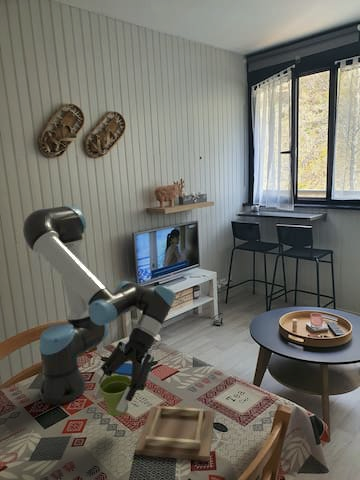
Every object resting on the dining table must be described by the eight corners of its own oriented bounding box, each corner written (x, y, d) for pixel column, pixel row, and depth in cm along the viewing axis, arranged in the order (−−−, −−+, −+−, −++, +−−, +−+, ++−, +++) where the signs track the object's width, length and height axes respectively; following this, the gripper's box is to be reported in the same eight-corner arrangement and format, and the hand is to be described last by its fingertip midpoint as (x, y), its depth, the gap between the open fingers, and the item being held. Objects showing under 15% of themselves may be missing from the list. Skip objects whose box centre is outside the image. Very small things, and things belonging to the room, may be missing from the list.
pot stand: (135, 454, 96) (134, 443, 96) (151, 411, 114) (151, 401, 113) (209, 461, 93) (208, 449, 92) (214, 415, 110) (214, 405, 110)
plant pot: (104, 425, 99) (102, 397, 98) (98, 405, 108) (96, 379, 106) (137, 415, 103) (135, 388, 101) (128, 396, 111) (126, 371, 110)
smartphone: (118, 362, 144) (152, 366, 139) (118, 364, 144) (152, 368, 139) (109, 371, 138) (144, 376, 132) (109, 373, 138) (144, 378, 133)
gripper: (177, 347, 107) (142, 423, 98) (127, 328, 120) (92, 392, 112) (165, 337, 102) (126, 416, 93) (114, 318, 115) (76, 385, 107)
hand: (108, 403), depth 102 cm, fingers closed on plant pot, 9 cm apart
